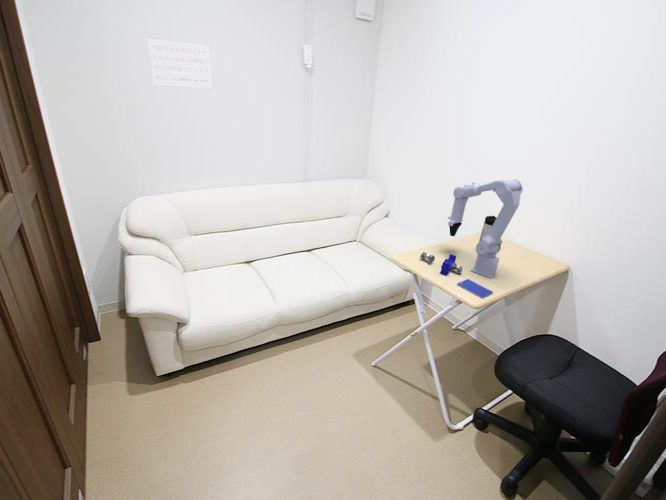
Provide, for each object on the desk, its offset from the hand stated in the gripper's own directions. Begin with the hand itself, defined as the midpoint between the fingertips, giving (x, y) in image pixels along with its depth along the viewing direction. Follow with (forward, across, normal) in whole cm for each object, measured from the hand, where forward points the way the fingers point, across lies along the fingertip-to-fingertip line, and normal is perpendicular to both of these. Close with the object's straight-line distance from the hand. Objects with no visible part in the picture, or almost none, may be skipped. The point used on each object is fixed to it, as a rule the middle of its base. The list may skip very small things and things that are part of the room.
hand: (452, 235), depth 179 cm
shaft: (+9, +19, -4) cm, 22 cm away
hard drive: (+10, +30, +23) cm, 39 cm away
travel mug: (+10, -14, +14) cm, 22 cm away
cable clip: (+10, +21, +6) cm, 24 cm away
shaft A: (+9, +21, +11) cm, 25 cm away
